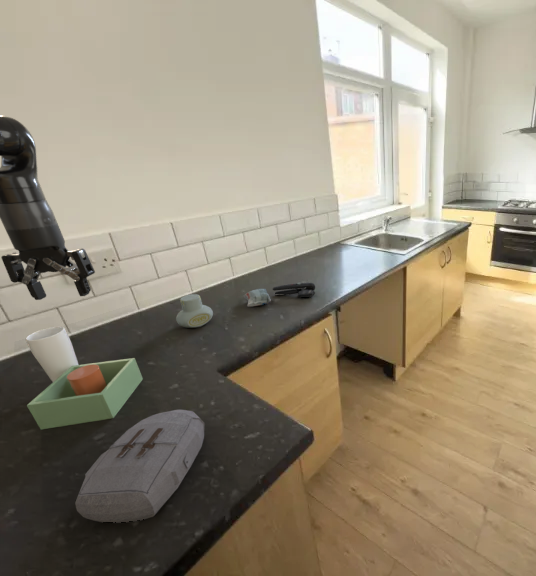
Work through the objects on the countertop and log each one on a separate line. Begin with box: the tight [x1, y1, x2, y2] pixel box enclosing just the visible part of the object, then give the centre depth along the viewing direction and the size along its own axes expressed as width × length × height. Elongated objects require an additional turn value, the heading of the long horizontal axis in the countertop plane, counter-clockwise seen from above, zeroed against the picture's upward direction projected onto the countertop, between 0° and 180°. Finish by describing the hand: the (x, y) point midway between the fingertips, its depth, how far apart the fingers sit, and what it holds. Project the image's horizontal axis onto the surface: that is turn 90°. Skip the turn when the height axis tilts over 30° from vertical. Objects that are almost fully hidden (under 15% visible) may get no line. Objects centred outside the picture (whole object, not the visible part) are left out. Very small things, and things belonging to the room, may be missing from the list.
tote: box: [26, 357, 144, 430], centre depth 73 cm, size 14×14×7 cm
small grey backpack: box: [74, 409, 206, 524], centre depth 56 cm, size 15×8×20 cm
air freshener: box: [175, 293, 214, 329], centre depth 107 cm, size 11×8×10 cm
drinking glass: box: [25, 325, 80, 383], centre depth 78 cm, size 7×7×15 cm
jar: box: [67, 365, 107, 396], centre depth 73 cm, size 6×6×8 cm
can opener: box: [272, 281, 316, 298], centre depth 128 cm, size 18×7×6 cm, turn 84°
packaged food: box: [243, 288, 272, 308], centre depth 123 cm, size 9×12×5 cm
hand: (63, 296), depth 71 cm, fingers open, 8 cm apart
